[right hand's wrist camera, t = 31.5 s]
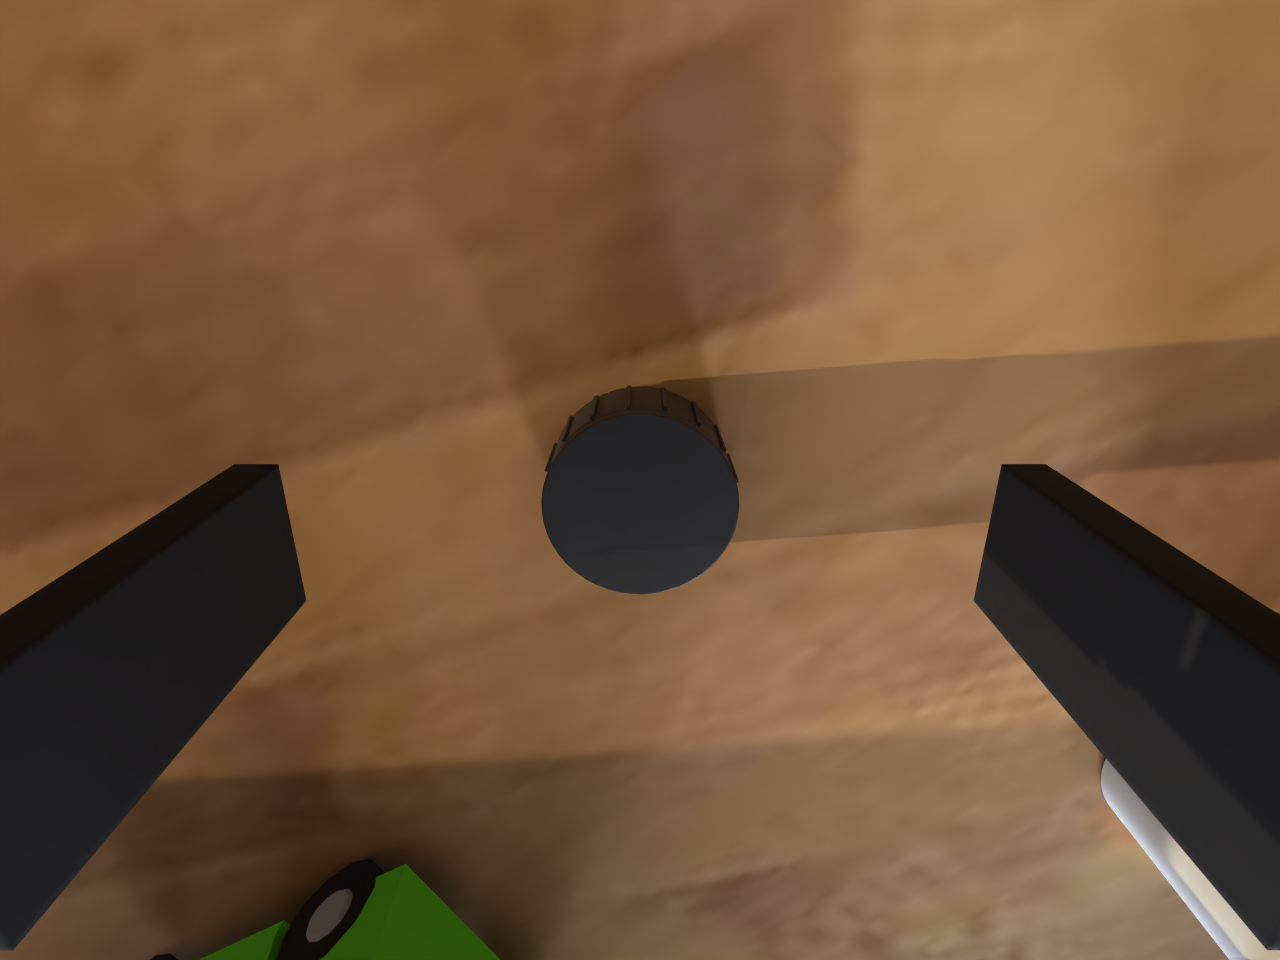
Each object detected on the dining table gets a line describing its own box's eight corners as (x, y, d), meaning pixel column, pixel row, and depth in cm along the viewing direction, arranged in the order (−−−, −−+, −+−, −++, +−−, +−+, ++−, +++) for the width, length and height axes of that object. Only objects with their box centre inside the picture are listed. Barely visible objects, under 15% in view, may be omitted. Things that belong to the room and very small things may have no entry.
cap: (557, 552, 16) (546, 600, 14) (544, 386, 15) (529, 413, 13) (726, 548, 16) (739, 594, 14) (729, 381, 14) (743, 408, 13)
